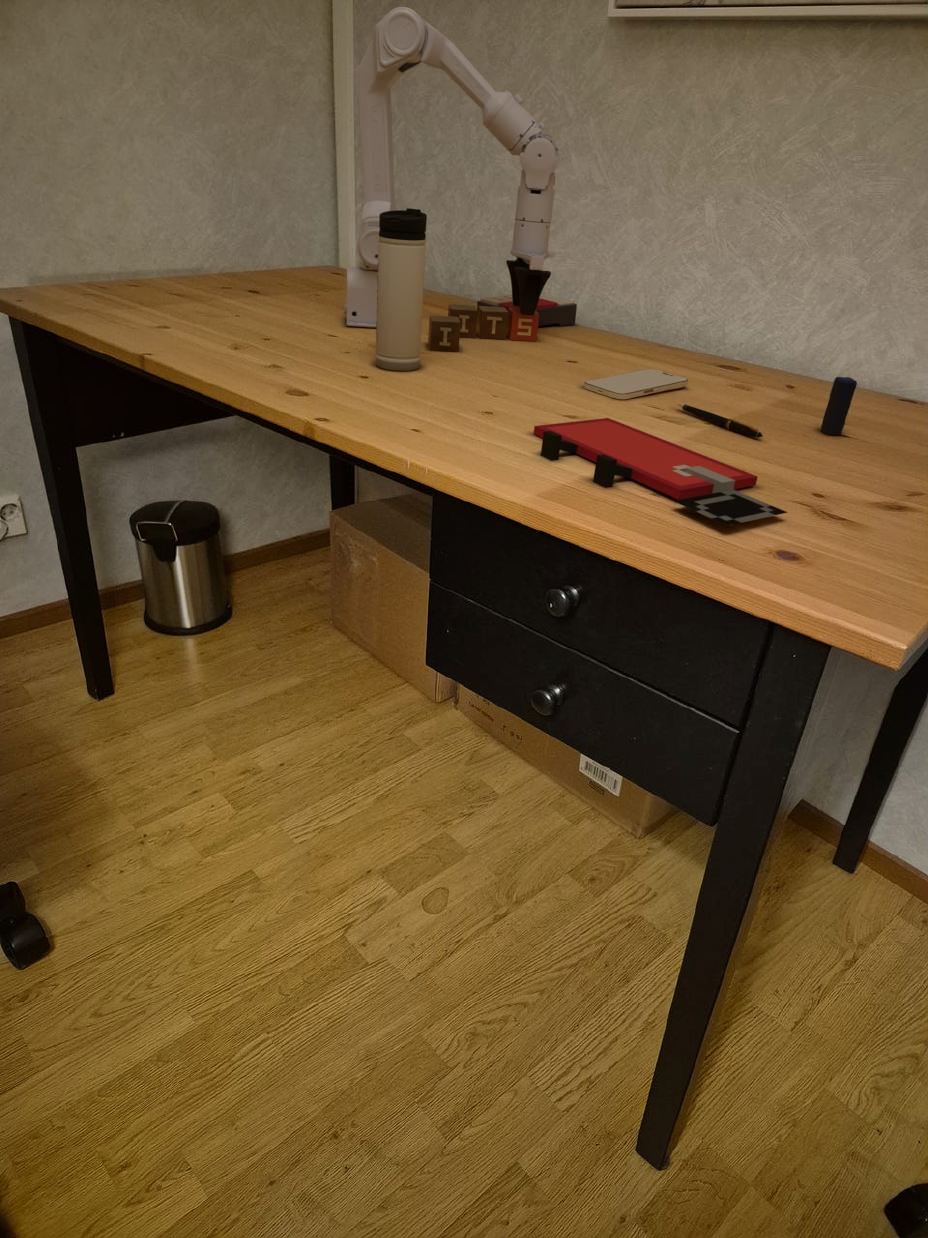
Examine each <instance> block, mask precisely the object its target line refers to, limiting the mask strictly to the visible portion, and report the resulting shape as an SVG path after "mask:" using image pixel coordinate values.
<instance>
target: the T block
mask: <svg viewBox="0 0 928 1238" xmlns="http://www.w3.org/2000/svg"><path fill="white" fill-rule="evenodd" d="M507 321H508V311H507V310H506V309H505V308H504V307H490V306H479V307H478V318H477V331H476V335H477V336H478V338H479V339H481V340H482V339H485V340H501V341H502V340H503V341H506V340H507Z"/></svg>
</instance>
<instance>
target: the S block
mask: <svg viewBox="0 0 928 1238" xmlns="http://www.w3.org/2000/svg"><path fill="white" fill-rule="evenodd" d="M538 321H539V313H538V312H537V311H535V313H534V316H531V315H521V312H520V308H509V312H508V323H507V332H506V337H508V339H509V340H510V341H520V342H521V341H524V342H537V337H538V330H539V329H538V328H539V326H538Z"/></svg>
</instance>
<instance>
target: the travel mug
mask: <svg viewBox="0 0 928 1238" xmlns="http://www.w3.org/2000/svg"><path fill="white" fill-rule="evenodd" d="M427 219H428V216H427V214H426V213H425V212H422V210H421V209H419V208H412V207H411V208H410V207H407V208H405V209H397V210H395V211H386V212H382V213H381V214H380V215H379V228H380V230H379V236H378V239H379V242H378V276H377V317H376V327H375V361H374V363H375V365H376V366H377V367H378V368H380V369H383V370H387V371H392V372H412V371H415V370H418V369H419V368H420V367H421V356H420V355H421V351H422V349H421V348H422V330H423V329H422V328H423V309H424V291H425V289H424V287H425V270H426V269H425V268H426V247H427V246H426V243H427V234H426V232H427V221H428V220H427Z"/></svg>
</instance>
